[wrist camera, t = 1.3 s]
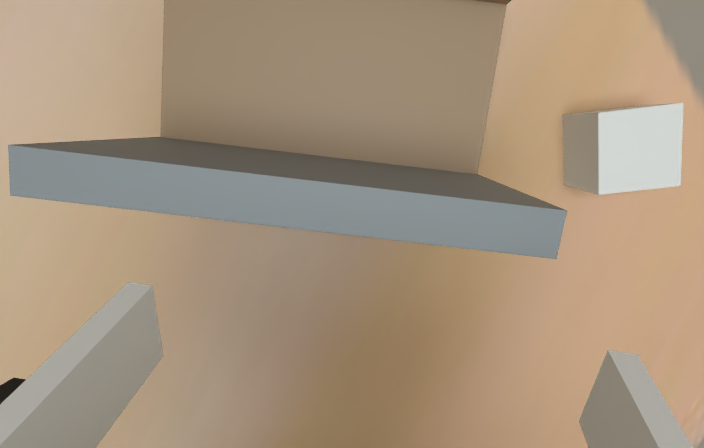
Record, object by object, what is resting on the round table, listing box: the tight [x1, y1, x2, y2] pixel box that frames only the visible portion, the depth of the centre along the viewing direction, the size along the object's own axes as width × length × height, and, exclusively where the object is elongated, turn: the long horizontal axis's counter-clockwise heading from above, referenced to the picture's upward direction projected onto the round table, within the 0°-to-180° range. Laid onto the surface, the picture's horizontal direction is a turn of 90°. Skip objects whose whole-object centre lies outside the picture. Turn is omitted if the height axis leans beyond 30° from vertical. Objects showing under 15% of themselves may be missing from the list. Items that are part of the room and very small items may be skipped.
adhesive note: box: [562, 103, 683, 195], centre depth 36 cm, size 6×6×6 cm
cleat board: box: [8, 0, 567, 259], centre depth 28 cm, size 14×22×22 cm, turn 83°
